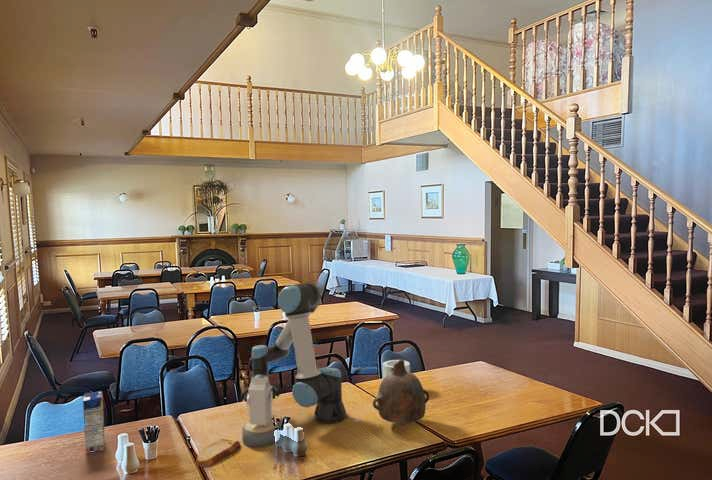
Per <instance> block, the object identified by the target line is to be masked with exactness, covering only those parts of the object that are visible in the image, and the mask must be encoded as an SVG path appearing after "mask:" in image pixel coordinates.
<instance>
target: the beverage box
mask: <svg viewBox="0 0 712 480" xmlns="http://www.w3.org/2000/svg"><path fill="white" fill-rule="evenodd" d="M103 398H104V397H103V390H100V391H94V392H87V393H84V394H83V400H82V402H83V407H82V408H83V421H84V442H85V453H86V452H90V451H95V450H100V449H104V446H105V442H106V441H105V440H106V439H105V438H106V437H105V419H104V418H105V417H104V400H103ZM104 450H105V449H104Z"/></svg>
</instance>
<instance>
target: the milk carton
mask: <svg viewBox="0 0 712 480" xmlns="http://www.w3.org/2000/svg"><path fill="white" fill-rule="evenodd" d="M250 379H251V381H250V383H249V387H248V388H249V389H248V391H249V405H248V410H249V413H248V414H249V422H250V424H254V425H266V424H267V423H268V422H269V421H270V420H271V419H272V420H273V418H272V417H273V415H272V403H271V389H270V387H271V384H270V381H269V382H268V381H267V378H253V377H251V378H250Z"/></svg>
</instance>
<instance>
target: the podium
mask: <svg viewBox="0 0 712 480" xmlns="http://www.w3.org/2000/svg"><path fill="white" fill-rule="evenodd" d="M272 420H273V418H272V419H271V420H270V421H269V422H268V423H267V424H266V425H254V424H250V421H249V422H247V423H245V424H244V425H243V426H242V430H241V431H242V432H241V433H242V435H241V436H242V444H243V445H245V446H247V447H249V448H264V447H269V446H272V445H275V444H276V443H275V436H274V431H275V428H276V427H277V426H278V428H280V429H281V423H280V422H279V421H278V420H276V421H275V422H276V426H274V425H273V421H272Z"/></svg>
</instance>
